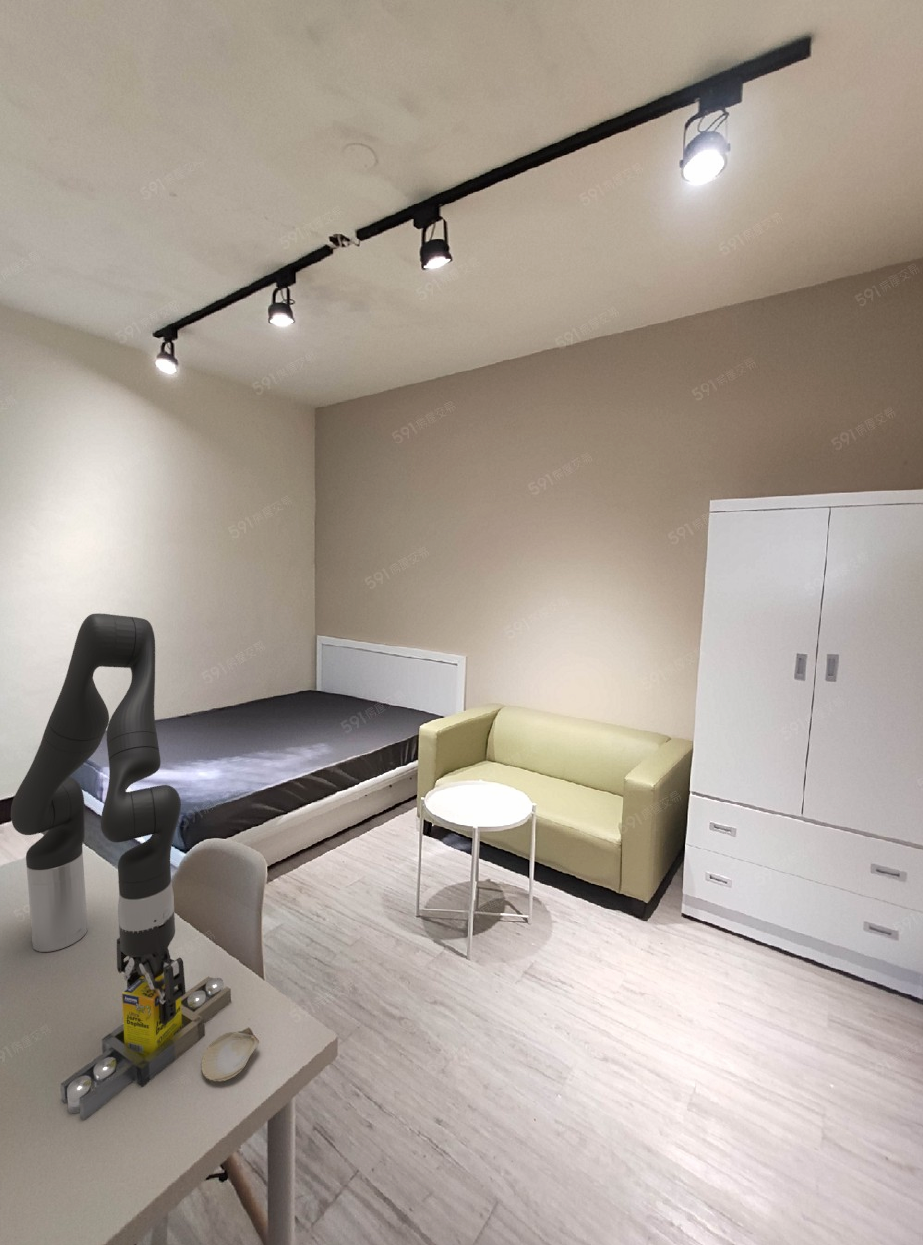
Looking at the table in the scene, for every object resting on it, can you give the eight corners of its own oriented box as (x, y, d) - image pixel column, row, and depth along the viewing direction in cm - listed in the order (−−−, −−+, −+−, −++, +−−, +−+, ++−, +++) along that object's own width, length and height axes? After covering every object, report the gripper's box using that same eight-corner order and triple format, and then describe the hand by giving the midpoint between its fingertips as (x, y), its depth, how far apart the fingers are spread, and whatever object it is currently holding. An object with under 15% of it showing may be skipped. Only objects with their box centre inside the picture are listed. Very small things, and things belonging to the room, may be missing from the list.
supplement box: (156, 1065, 85) (153, 1000, 84) (124, 1058, 86) (120, 993, 85) (184, 1034, 90) (181, 972, 89) (153, 1027, 92) (149, 966, 91)
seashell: (200, 1071, 86) (211, 1098, 80) (194, 1052, 86) (205, 1078, 80) (252, 1035, 91) (266, 1058, 85) (247, 1017, 91) (261, 1039, 84)
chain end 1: (50, 1094, 80) (49, 1076, 80) (136, 1032, 91) (135, 1015, 90) (89, 1130, 75) (88, 1110, 75) (175, 1059, 86) (174, 1042, 85)
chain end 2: (136, 1032, 91) (135, 1015, 90) (203, 983, 101) (202, 967, 101) (175, 1059, 86) (174, 1042, 85) (241, 1005, 96) (240, 989, 96)
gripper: (96, 912, 86) (102, 1007, 88) (150, 943, 79) (155, 1046, 81) (143, 888, 93) (148, 977, 94) (197, 914, 86) (201, 1010, 87)
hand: (151, 1009), depth 87 cm, fingers open, 8 cm apart
